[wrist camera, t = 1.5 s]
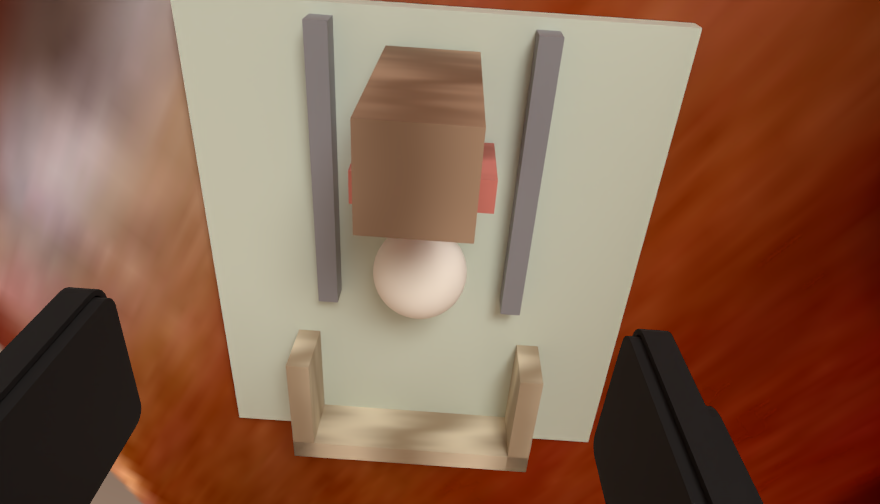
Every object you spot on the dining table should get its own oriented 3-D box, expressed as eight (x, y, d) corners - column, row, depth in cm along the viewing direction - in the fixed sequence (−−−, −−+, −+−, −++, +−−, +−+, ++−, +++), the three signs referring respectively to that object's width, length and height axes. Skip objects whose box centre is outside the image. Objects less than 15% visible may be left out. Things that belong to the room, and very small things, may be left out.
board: (694, 22, 26) (712, 34, 24) (585, 429, 39) (591, 457, 37) (178, -13, 26) (156, -5, 24) (244, 405, 39) (233, 432, 37)
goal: (537, 346, 34) (543, 384, 32) (521, 432, 38) (525, 472, 35) (299, 329, 34) (285, 365, 32) (306, 416, 38) (294, 455, 35)
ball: (470, 211, 30) (471, 261, 26) (463, 286, 32) (462, 341, 28) (379, 205, 30) (366, 253, 26) (379, 280, 32) (366, 334, 28)
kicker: (504, 53, 25) (519, 130, 18) (490, 173, 28) (499, 282, 21) (361, 43, 25) (316, 115, 18) (363, 164, 28) (324, 270, 21)
